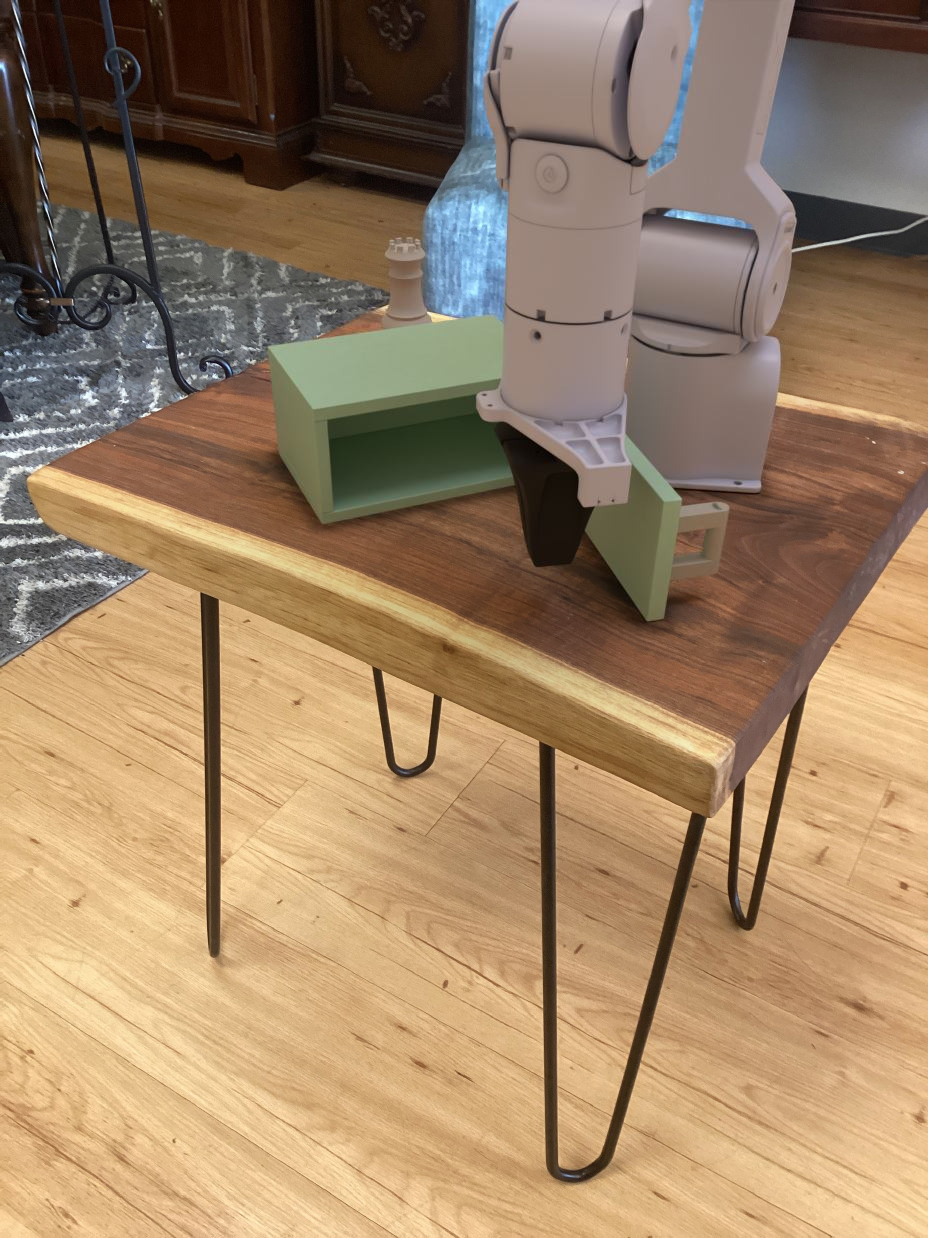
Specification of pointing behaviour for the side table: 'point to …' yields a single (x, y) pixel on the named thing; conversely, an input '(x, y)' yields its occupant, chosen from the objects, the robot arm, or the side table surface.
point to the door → (655, 536)
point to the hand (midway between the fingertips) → (550, 558)
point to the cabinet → (390, 416)
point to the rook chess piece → (405, 285)
